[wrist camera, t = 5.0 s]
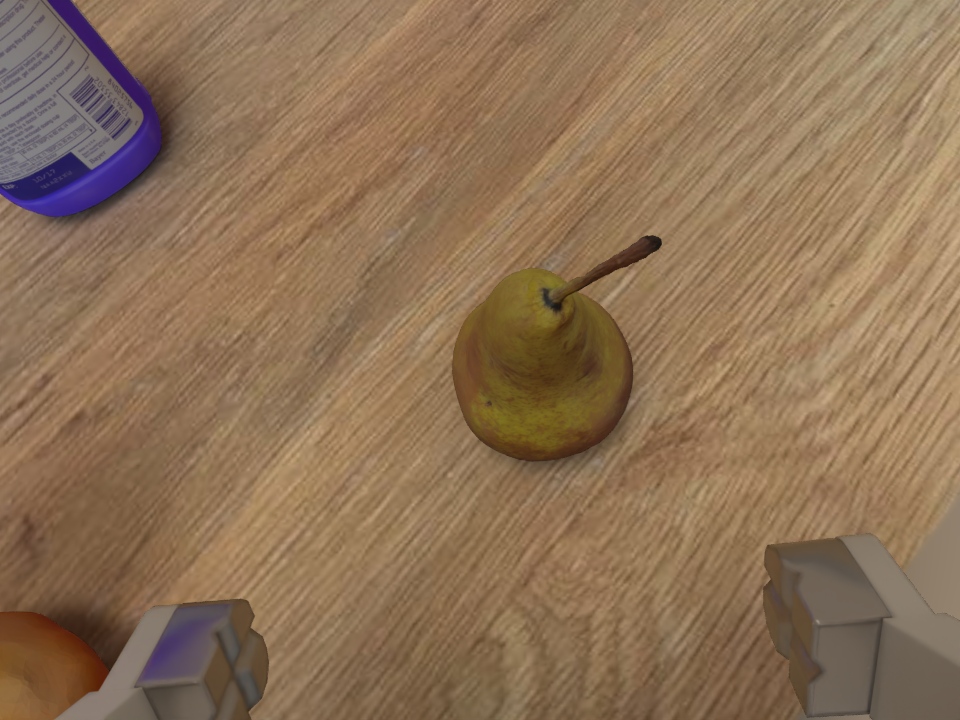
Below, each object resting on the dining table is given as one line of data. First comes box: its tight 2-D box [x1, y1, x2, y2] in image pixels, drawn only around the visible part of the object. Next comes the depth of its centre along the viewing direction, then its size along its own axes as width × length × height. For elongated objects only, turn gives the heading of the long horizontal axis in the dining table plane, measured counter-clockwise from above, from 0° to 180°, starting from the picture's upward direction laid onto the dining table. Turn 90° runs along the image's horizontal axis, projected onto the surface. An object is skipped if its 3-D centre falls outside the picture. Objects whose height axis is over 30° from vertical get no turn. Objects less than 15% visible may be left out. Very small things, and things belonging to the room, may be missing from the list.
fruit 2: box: [452, 235, 662, 461], centre depth 19 cm, size 6×6×12 cm
